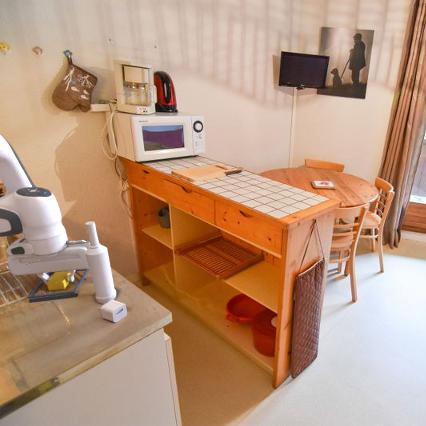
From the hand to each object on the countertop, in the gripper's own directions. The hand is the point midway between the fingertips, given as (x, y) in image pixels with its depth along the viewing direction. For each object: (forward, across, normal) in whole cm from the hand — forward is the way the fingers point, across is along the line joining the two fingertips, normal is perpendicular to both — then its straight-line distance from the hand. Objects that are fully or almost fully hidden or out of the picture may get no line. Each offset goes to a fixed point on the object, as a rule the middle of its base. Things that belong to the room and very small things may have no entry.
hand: (60, 282), depth 97 cm
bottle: (+2, -14, +8) cm, 16 cm away
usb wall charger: (+2, -17, +17) cm, 24 cm away
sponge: (+2, 0, 0) cm, 2 cm away
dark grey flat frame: (+2, 0, -1) cm, 2 cm away
